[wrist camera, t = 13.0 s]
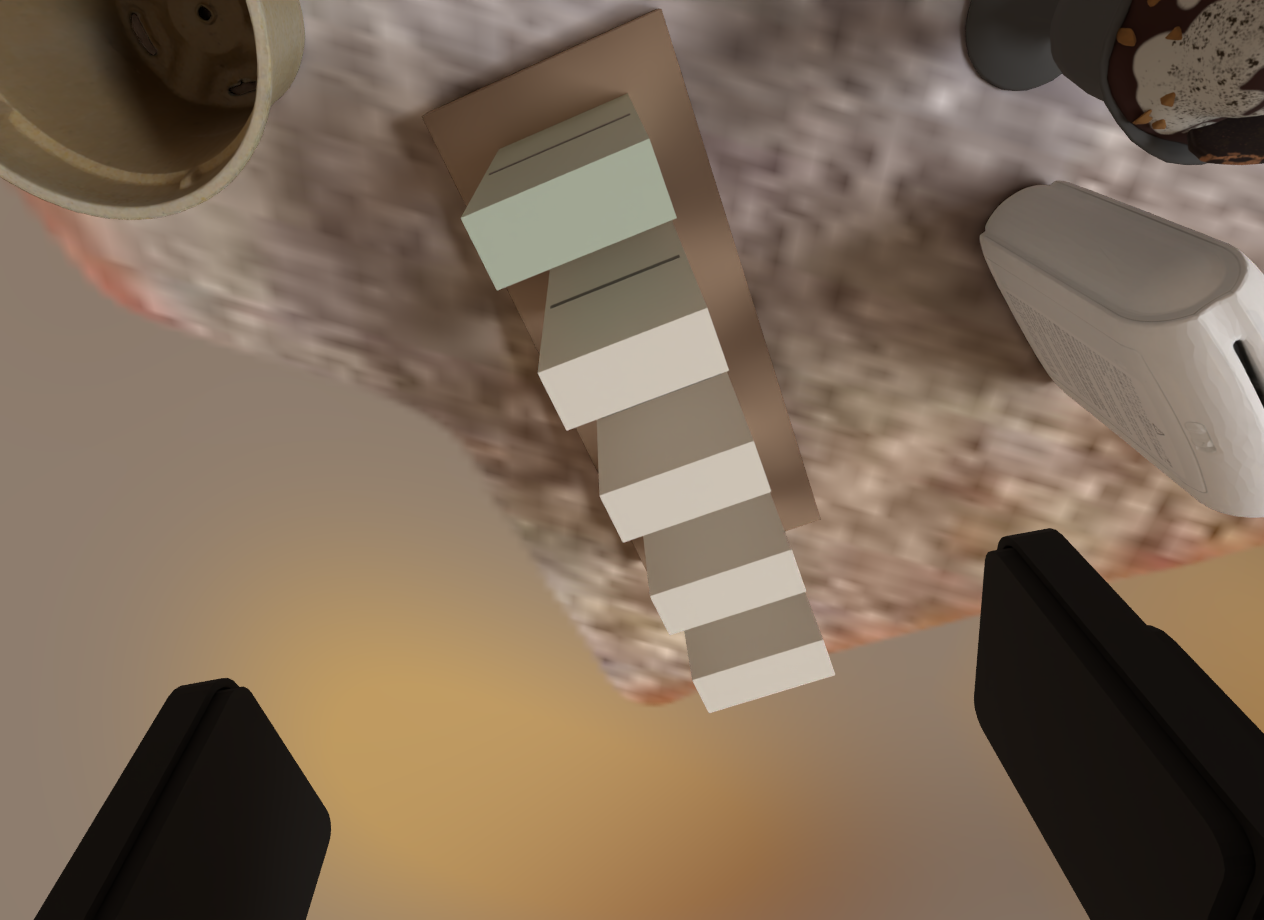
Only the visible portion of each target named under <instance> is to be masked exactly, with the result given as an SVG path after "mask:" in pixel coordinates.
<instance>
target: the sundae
mask: <svg viewBox="0 0 1264 920" xmlns="http://www.w3.org/2000/svg"><path fill="white" fill-rule="evenodd" d="M966 42H967V48H968V54H969V57H970V59H971V61H972V63H973V65H974V67H975V69H976V70H977V71H978V73H979V74H980V76H981V77H982V78H983V79H985V80H986V81H988V82H989V83H990V84H992V85H994V86H996V87H998V88H1000V89H1004V90H1012V91H1021V90H1029V89H1032V88H1036V87H1039V86H1041V85H1043V84H1046V83H1048V82H1050V81H1052V80H1054V79H1055V78H1057V77H1058V76H1059V75H1061V74H1063V75H1064V76H1066V77H1067V78H1068V79H1070V80H1071V81H1072V82H1073V83H1075V84H1076V85H1077V86H1079V87H1080V88H1081V89H1082V90H1084V91H1085V92H1086V93H1088V94H1090V95H1092V96H1094V97H1096V98H1098V99H1100V100H1102V101H1104V103H1105V105H1106V106H1107V108H1108V109H1109V111H1110V113H1111V114H1112V116H1113V118H1114V119H1115V121H1116V122H1117V124H1118V125H1119V126H1120V128H1121V129H1122V130H1123V131H1124V133H1125V134H1126V135H1127V136H1128V138H1129V139H1130V140H1131V141H1132V142H1133V143H1135V144H1136V145H1138V146H1139V147H1140V148H1142V149H1143V150H1145V151H1146V152H1147V153H1149V154H1151V155H1153V156H1155V157H1157V158H1159V159H1161V160H1163V161H1165V162H1168V163H1175V164H1182V165H1202V164H1206V163H1215V164H1228V165H1248V164H1262V163H1264V0H972V1H971V4H970V8H969V11H968V17H967V22H966Z"/></svg>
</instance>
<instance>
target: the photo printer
mask: <svg viewBox="0 0 1264 920" xmlns="http://www.w3.org/2000/svg"><path fill="white" fill-rule="evenodd" d="M980 244H981V247H982V251H983V254H984V257H985V260H986V262H987V264H988V267H989V269H990V271H991V273H992V275H993V277H994V279H995V281H996V283H997V286H998V288H999V289H1000V291H1001V293H1002V295H1003V297H1004V298H1005V300H1006V302H1007V304H1008V306H1009V308H1010V310H1011V312H1012V313H1013V315H1014V317H1015V319H1016V321H1017V323H1018V324H1019V326H1020V328H1021V330H1022V332H1023V333H1024V335H1025V337H1026V339H1027V341H1028V342H1029V344H1030V346H1031V347H1032V349H1033V351H1034V353H1035V354H1036V356H1037V358H1038V359H1039V361H1040V363H1041V364H1042V366H1043V367H1044V369H1045V370H1046V372H1047V373H1048V375H1049V376H1050V377H1051V379H1052V380H1053V381H1054V382H1055V383H1056V384H1057V385H1058V386H1059V387H1060V388H1061V389H1062V390H1063V391H1064V392H1065V393H1066V394H1067V395H1068V396H1069V397H1071V398H1072V399H1073V400H1074V401H1076V402H1077V403H1078V404H1079V405H1081V406H1082V407H1083V408H1084V409H1086V410H1087V411H1088V412H1090V413H1091V414H1092V415H1093V416H1094V417H1096V418H1097V419H1098V420H1099V421H1101V422H1102V423H1103V424H1104V425H1106V426H1107V427H1108V428H1109V429H1111V430H1112V431H1113V432H1114V433H1116V434H1117V435H1118V436H1119V437H1121V438H1122V439H1123V440H1124V441H1125V442H1127V443H1128V444H1129V445H1130V446H1132V447H1133V448H1134V449H1135V450H1136V451H1138V452H1139V453H1140V454H1141V455H1142V456H1144V457H1145V458H1146V459H1147V460H1149V461H1150V462H1151V463H1152V464H1153V465H1155V466H1156V467H1157V468H1158V469H1160V470H1161V471H1162V472H1163V473H1165V474H1166V475H1167V476H1168V477H1169V478H1171V479H1172V480H1173V481H1174V482H1176V483H1177V484H1178V485H1179V486H1180V487H1182V488H1183V489H1184V490H1185V491H1187V492H1188V493H1189V494H1190V495H1191V496H1193V497H1194V498H1195V499H1196V500H1198V501H1199V502H1200V503H1202V504H1204V505H1205V506H1207V507H1209V508H1211V509H1213V510H1215V511H1218V512H1220V513H1225V514H1229V515H1233V516H1240V517H1251V518H1256V517H1264V274H1263V273H1262V272H1261V271H1260V270H1259V269H1258V267H1257V266H1256V265H1255V264H1254V263H1253V262H1252V261H1251V260H1250V259H1249V258H1248V257H1247V256H1246V255H1245V254H1244V253H1243V252H1241V251H1240V250H1239V249H1237V248H1235V247H1234V246H1232V245H1230V244H1228V243H1225V242H1223V241H1220V240H1218V239H1215V238H1212V237H1210V236H1208V235H1205V234H1203V233H1200V232H1197V231H1195V230H1192V229H1189V228H1187V227H1184V226H1182V225H1179V224H1177V223H1174V222H1172V221H1169V220H1166V219H1164V218H1161V217H1159V216H1156V215H1154V214H1151V213H1149V212H1146V211H1144V210H1141V209H1139V208H1136V207H1133V206H1131V205H1128V204H1125V203H1122V202H1120V201H1117V200H1115V199H1112V198H1109V197H1107V196H1104V195H1102V194H1099V193H1096V192H1094V191H1092V190H1088V189H1086V188H1083V187H1080V186H1078V185H1075V184H1072V183H1070V182H1066V181H1055V182H1053V183H1052V184H1051V185H1049V186H1048V185H1035V186H1031V187H1027V188H1025V189H1022V190H1020V191H1018V192H1016V193H1015V194H1013V195H1012V196H1010V197H1009V198H1007V199H1006V200H1005V201H1004V202H1003V203H1001V204H1000V205H999V206H998V207H997V209H996V210H995V211H994V212H993V214H992V215H991V216H990V218H989V220H988V221H987V223H986V226H985V232H983V233H982V234H980Z"/></svg>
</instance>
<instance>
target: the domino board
mask: <svg viewBox="0 0 1264 920" xmlns="http://www.w3.org/2000/svg"><path fill="white" fill-rule="evenodd" d="M627 93H628V95H629V97H630V99H631V101H632V103H633V105H634V108H635V110H636V112H637V114H638V116H639V118H640V120H641V122H642V124H643V126H644V128H645V130H646V132H647V135H648V137H649V139H650V142H651V145H652V147H653V150H654V153H655V156H656V159H657V162H658V165H659V168H660V171H661V173H662V176H663V179H664V182H665V185H666V188H667V191H668V194H669V197H670V200H671V202H672V205H673V208H674V211H675V214H676V217H677V218H676V219H673V220H672V222H673V224H674V227H675V229H676V232H677V234H678V237H679V239H680V242H681V244H682V247H683V249H684V251H685V254H686V256H687V259H688V261H689V264H690V266H691V269H692V271H693V274H694V276H695V279H696V281H697V284H698V286H699V288H700V291H701V293H702V296H703V298H704V301H705V303H706V306H707V308H708V311H709V314H710V317H711V320H712V323H713V325H714V328H715V331H716V334H717V337H718V340H719V343H720V346H721V348H722V351H723V354H724V357H725V360H726V363H727V366H728V368H729V371H727V373H728V376H729V378H730V381H731V384H732V386H733V389H734V391H735V394H736V396H737V399H738V402H739V404H740V407H741V409H742V412H743V414H744V417H745V420H746V422H747V425H748V427H749V430H750V433H751V435H752V438H753V440H754V443H755V446H756V449H757V452H758V454H759V457H760V460H761V463H762V466H763V469H764V472H765V475H766V477H767V480H768V483H769V486H770V489H771V492H770V494H771V497H772V499H773V502H774V504H775V507H776V510H777V512H778V515H779V518H780V520H781V523H782V525H783V528H784V531H788V530H791V529H794V528H797V527H800V526H803V525H806V524H809V523H812V522H815V521H818V520H821V518H820V515H819V512H818V509H817V506H816V502H815V499H814V496H813V493H812V490H811V486H810V483H809V480H808V477H807V474H806V470H805V467H804V464H803V461H802V458H801V454H800V451H799V448H798V445H797V442H796V438H795V435H794V432H793V429H792V426H791V422H790V419H789V416H788V413H787V410H786V406H785V403H784V400H783V397H782V394H781V390H780V387H779V384H778V381H777V378H776V374H775V371H774V368H773V365H772V362H771V358H770V355H769V352H768V349H767V346H766V342H765V339H764V336H763V333H762V330H761V326H760V323H759V320H758V317H757V314H756V310H755V307H754V304H753V301H752V298H751V294H750V291H749V288H748V285H747V282H746V278H745V275H744V272H743V269H742V266H741V262H740V259H739V256H738V253H737V250H736V246H735V243H734V240H733V237H732V234H731V230H730V227H729V224H728V221H727V218H726V214H725V211H724V208H723V205H722V202H721V198H720V195H719V192H718V189H717V186H716V182H715V179H714V176H713V173H712V170H711V166H710V163H709V160H708V157H707V154H706V150H705V147H704V144H703V141H702V138H701V134H700V131H699V128H698V125H697V122H696V118H695V115H694V112H693V109H692V106H691V102H690V99H689V96H688V93H687V90H686V86H685V83H684V80H683V77H682V74H681V70H680V67H679V64H678V61H677V58H676V54H675V51H674V48H673V45H672V42H671V38H670V35H669V32H668V29H667V26H666V22H665V19H664V16H663V13H662V10H661V9H656V10H654V11H652V12H649V13H647V14H645V15H643V16H641V17H638V18H636V19H634V20H632V21H629V22H627V23H625V24H623V25H621V26H618V27H616V28H614V29H612V30H610V31H607V32H605V33H603V34H601V35H598V36H596V37H594V38H592V39H590V40H587V41H585V42H583V43H581V44H578V45H576V46H574V47H572V48H570V49H567V50H565V51H563V52H561V53H559V54H556V55H554V56H552V57H550V58H547V59H545V60H543V61H541V62H539V63H536V64H534V65H532V66H530V67H527V68H525V69H523V70H521V71H519V72H516V73H514V74H512V75H510V76H508V77H505V78H503V79H501V80H499V81H496V82H494V83H492V84H490V85H488V86H485V87H483V88H481V89H479V90H476V91H474V92H472V93H470V94H468V95H465V96H463V97H461V98H459V99H456V100H454V101H452V102H450V103H448V104H445V105H443V106H441V107H439V108H437V109H434V110H432V111H430V112H428V113H426V114H425V115H424V116H422V118H423V120H424V122H425V124H426V126H427V128H428V130H429V132H430V134H431V136H432V138H433V140H434V142H435V145H436V147H437V149H438V151H439V153H440V155H441V157H442V159H443V161H444V163H445V165H446V167H447V169H448V171H449V173H450V175H451V177H452V179H453V181H454V183H455V185H456V187H457V189H458V191H459V193H460V195H461V197H462V199H463V201H464V203H465V205H466V207H467V206H468V204H469V202H470V200H471V198H472V197H473V195H474V193H475V191H476V189H477V188H478V186H479V184H480V182H481V180H482V179H483V177H484V175H485V173H486V171H487V170H488V168H489V166H490V164H491V162H492V161H493V159H494V157H495V155H496V153H497V152H498V150H499V149H501V148H503V147H505V146H507V145H510V144H512V143H514V142H517V141H519V140H521V139H524V138H526V137H528V136H531V135H533V134H535V133H537V132H540V131H542V130H544V129H547V128H549V127H551V126H554V125H556V124H558V123H561V122H563V121H565V120H567V119H570V118H572V117H574V116H577V115H579V114H581V113H584V112H586V111H588V110H591V109H593V108H595V107H597V106H600V105H602V104H604V103H607V102H609V101H611V100H614V99H616V98H618V97H621V96H623V95H625V94H627ZM549 273H550V269H549V270H547V271H545V272H542V273H540V274H537V275H535V276H532V277H530V278H527V279H525V280H522V281H520V282H517V283H515V284H512V285H510V286H507V287H506V288H507V290H508V292H509V294H510V296H511V298H512V300H513V302H514V304H515V306H516V308H517V310H518V312H519V314H520V316H521V318H522V320H523V322H524V324H525V326H526V328H527V330H528V332H529V334H530V336H531V338H532V340H533V342H534V345H535V347H536V349H537V351H538V353H539V355H540V349H541V340H542V332H543V324H544V315H545V307H546V298H547V290H548V282H549ZM576 429H577V431H578V433H579V435H580V437H581V439H582V441H583V444H584V446H585V448H586V450H587V452H588V454H589V456H590V458H591V460H592V462H593V464H594V466H595V468H596V470H597V472H598V474H599V471H598V442H597V420H594V421H592V422H589V423H586V424H584V425H581V426H578V427H576ZM632 543H633V545H634V547H635V549H636V551H637V553H638V555H639V557H640V559H641V561H642V563H643V565H644V567H645V569H646V571H647V565H646V556H645V548H644V539H643V536H641V537H638V538H635V539H632Z"/></svg>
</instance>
